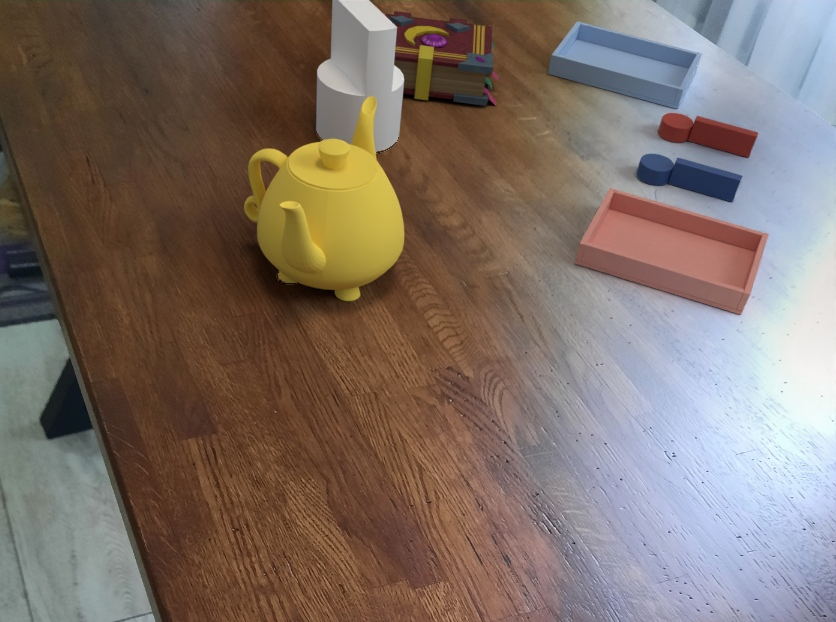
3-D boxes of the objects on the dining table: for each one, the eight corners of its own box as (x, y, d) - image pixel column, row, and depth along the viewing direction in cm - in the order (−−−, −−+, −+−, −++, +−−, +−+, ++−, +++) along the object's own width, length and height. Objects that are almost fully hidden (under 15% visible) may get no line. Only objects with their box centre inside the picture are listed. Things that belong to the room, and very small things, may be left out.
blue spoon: (736, 191, 99) (744, 170, 97) (730, 207, 97) (738, 186, 95) (640, 164, 101) (647, 142, 99) (632, 179, 99) (639, 157, 97)
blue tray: (696, 72, 116) (702, 53, 114) (677, 109, 109) (683, 90, 108) (572, 39, 119) (577, 20, 117) (547, 73, 112) (551, 54, 111)
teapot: (288, 192, 92) (288, 71, 83) (430, 231, 90) (445, 110, 81) (197, 304, 80) (185, 177, 71) (357, 351, 78) (366, 226, 69)
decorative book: (364, 49, 112) (367, 3, 108) (496, 65, 113) (504, 20, 109) (355, 93, 105) (358, 46, 101) (496, 110, 106) (504, 64, 102)
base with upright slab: (413, 147, 99) (426, 24, 90) (336, 160, 96) (341, 35, 87) (376, 107, 104) (385, -13, 94) (302, 119, 101) (303, -4, 91)
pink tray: (759, 253, 92) (769, 233, 90) (740, 315, 86) (750, 294, 84) (603, 207, 95) (609, 187, 93) (574, 263, 89) (579, 242, 87)
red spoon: (752, 148, 105) (760, 127, 103) (746, 162, 103) (755, 141, 101) (661, 123, 107) (668, 102, 105) (654, 137, 105) (661, 115, 103)
